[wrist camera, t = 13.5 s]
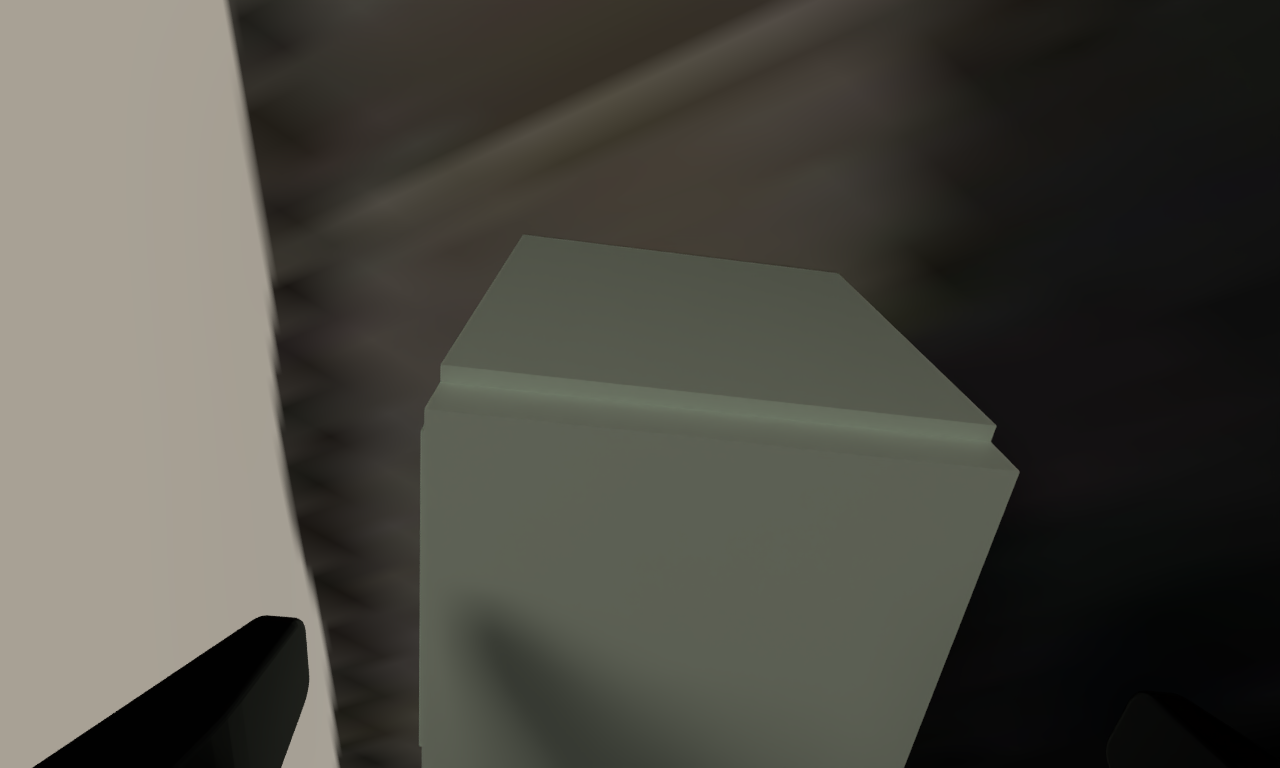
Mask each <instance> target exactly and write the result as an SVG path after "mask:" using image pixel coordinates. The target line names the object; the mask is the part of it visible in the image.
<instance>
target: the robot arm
mask: <svg viewBox="0 0 1280 768" xmlns="http://www.w3.org/2000/svg"><path fill="white" fill-rule="evenodd" d="M308 687H309V668H308V655H307V642H306V630H305V626H304V624H303V622H302V621H301V620H299V619H297V618H292V617H280V616H268V615H266V616H260V617H258V618H256V619H254V620H252V621H251V622H249V623H248V624H246V625H245V626H243V627H242V628H241V629H239V630H237V631H236V632H234V633H233V634H231V635H230V636H228V637H227V638H225V639H224V640H222V641H221V642H219V643H218V644H216V645H215V646H213V647H212V648H210V649H209V650H207V651H206V652H205V653H203V654H201V655H200V656H198V657H197V658H195V659H194V660H192V661H191V662H189V663H188V664H186V665H185V666H184V667H182V668H180V669H179V670H178V671H176V672H174V673H173V674H171V675H170V676H169V677H167V678H166V679H164V680H163V681H161V682H160V683H158V684H157V685H155V686H154V687H152V688H151V689H149V690H148V691H146V692H145V693H143V694H142V695H140V696H139V697H137V698H136V699H134V700H133V701H131V702H130V703H128V704H127V705H125V706H124V707H122V708H121V709H119V710H118V711H116V712H115V713H113V714H112V715H110V716H109V717H107V718H106V719H104V720H103V721H101V722H100V723H98V724H97V725H95V726H94V727H92V728H91V729H90V730H88V731H86V732H85V733H83V734H82V735H80V736H79V737H77V738H76V739H74V740H73V741H72V742H70V743H69V744H67V745H66V746H64V747H63V748H61V749H60V750H58V751H57V752H56V753H54V754H52V755H51V756H49V757H48V758H46V759H45V760H43V761H42V762H40V763H39V764H37V765H36V766H34V767H33V768H281V766H282V764H283V761H284V758H285V755H286V753H287V750H288V747H289V744H290V742H291V739H292V736H293V733H294V731H295V728H296V725H297V722H298V720H299V717H300V714H301V711H302V709H303V706H304V703H305V700H306V696H307V692H308ZM1106 757H1107V762H1108V765H1109V768H1280V759H1279V758H1277V757H1276V756H1274V755H1273V754H1271V753H1270V752H1268V751H1267V750H1265V749H1264V748H1262V747H1260V746H1259V745H1257V744H1256V743H1254V742H1253V741H1251V740H1250V739H1248V738H1246V737H1245V736H1243V735H1242V734H1240V733H1239V732H1237V731H1236V730H1234V729H1233V728H1231V727H1229V726H1228V725H1226V724H1225V723H1223V722H1222V721H1220V720H1219V719H1217V718H1216V717H1214V716H1212V715H1211V714H1209V713H1208V712H1206V711H1205V710H1203V709H1202V708H1200V707H1199V706H1197V705H1195V704H1194V703H1192V702H1191V701H1189V700H1188V699H1186V698H1184V697H1183V696H1180V695H1178V694H1174V693H1167V692H1155V691H1139V692H1137V693H1136V694H1134V695H1133V696H1132V697H1131V698H1130V700H1129V702H1128V703H1127V705H1126V707H1125V709H1124V711H1123V713H1122V714H1121V716H1120V718H1119V720H1118V722H1117V724H1116V725H1115V727H1114V729H1113V731H1112V733H1111V734H1110V736H1109V738H1108V741H1107V745H1106Z"/></svg>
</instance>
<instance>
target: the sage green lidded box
mask: <svg viewBox="0 0 1280 768" xmlns="http://www.w3.org/2000/svg"><path fill="white" fill-rule="evenodd" d="M995 428H996V425H995V424H994V423H993V422H992V421H991V420H990V419H989V418H988V417H987V416H986V415H985V414H984V413H983V412H982V411H981V410H980V409H979V408H978V407H977V406H975V405H974V404H973V403H972V402H971V401H970V400H969V399H968V398H967V397H966V396H965V395H964V394H963V393H962V392H961V391H960V390H959V389H958V388H957V387H956V386H955V385H954V384H953V383H952V382H951V381H950V380H949V379H947V378H946V377H945V376H944V375H943V374H942V373H941V372H940V371H939V370H938V369H937V368H936V367H935V366H934V365H933V364H932V363H931V362H930V361H929V360H928V359H927V358H926V357H925V356H924V355H923V354H922V353H920V352H919V351H918V350H917V349H916V348H915V347H914V346H913V345H912V344H911V343H910V342H909V341H908V340H907V339H906V338H905V337H904V336H903V335H902V334H901V333H900V332H899V331H898V330H897V329H896V328H895V327H893V326H892V325H891V324H890V323H889V322H888V321H887V320H886V319H885V318H884V317H883V316H882V315H881V314H880V313H879V312H878V311H877V310H876V309H875V308H874V307H873V306H872V305H871V304H870V303H869V302H868V301H866V300H865V299H864V298H863V297H862V296H861V295H860V294H859V293H858V292H857V291H856V290H855V289H854V288H853V287H852V286H851V285H850V284H849V283H848V282H847V281H846V280H845V279H844V278H843V277H842V276H841V275H840V274H838V273H832V272H824V271H816V270H808V269H800V268H792V267H784V266H775V265H767V264H759V263H751V262H743V261H735V260H727V259H718V258H710V257H702V256H694V255H686V254H678V253H669V252H661V251H653V250H645V249H637V248H629V247H621V246H612V245H604V244H596V243H588V242H580V241H572V240H564V239H555V238H547V237H539V236H531V235H523V236H522V237H521V239H520V240H519V242H518V243H517V245H516V247H515V248H514V250H513V251H512V253H511V254H510V256H509V258H508V259H507V261H506V262H505V264H504V266H503V267H502V269H501V270H500V272H499V273H498V275H497V277H496V278H495V280H494V281H493V283H492V284H491V286H490V288H489V289H488V291H487V292H486V294H485V295H484V297H483V299H482V300H481V302H480V303H479V305H478V306H477V308H476V310H475V311H474V313H473V314H472V316H471V318H470V319H469V321H468V322H467V324H466V325H465V327H464V329H463V330H462V332H461V333H460V335H459V336H458V338H457V340H456V341H455V343H454V344H453V346H452V347H451V349H450V351H449V352H448V354H447V355H446V357H445V358H444V360H443V362H442V363H441V373H440V384H439V385H438V387H437V389H436V390H435V392H434V394H433V395H432V397H431V399H430V400H429V402H428V404H427V405H426V407H425V409H424V426H423V428H422V429H421V472H420V655H419V746H422V768H904V766H905V764H906V761H907V758H908V756H909V753H910V751H911V748H912V746H913V743H914V741H915V738H916V735H917V733H918V730H919V728H920V725H921V723H922V720H923V718H924V715H925V712H926V710H927V707H928V705H929V702H930V700H931V697H932V695H933V692H934V689H935V687H936V684H937V682H938V679H939V677H940V674H941V672H942V669H943V666H944V664H945V661H946V659H947V656H948V654H949V651H950V649H951V646H952V643H953V641H954V638H955V636H956V633H957V631H958V628H959V626H960V623H961V620H962V618H963V615H964V613H965V610H966V608H967V605H968V603H969V600H970V598H971V595H972V592H973V590H974V587H975V585H976V582H977V580H978V577H979V575H980V572H981V569H982V567H983V564H984V562H985V559H986V557H987V554H988V552H989V549H990V546H991V544H992V541H993V539H994V536H995V534H996V531H997V529H998V526H999V523H1000V521H1001V518H1002V516H1003V513H1004V511H1005V508H1006V506H1007V503H1008V500H1009V498H1010V495H1011V493H1012V490H1013V488H1014V485H1015V483H1016V480H1017V477H1018V475H1019V472H1020V471H1019V470H1018V469H1017V468H1016V467H1015V466H1014V465H1013V464H1012V463H1011V462H1010V461H1009V460H1008V459H1007V458H1006V457H1005V456H1004V455H1003V454H1002V453H1001V452H1000V451H999V450H998V449H997V448H996V447H995V446H994V445H993V444H992V443H991V439H992V437H993V434H994V431H995Z"/></svg>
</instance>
